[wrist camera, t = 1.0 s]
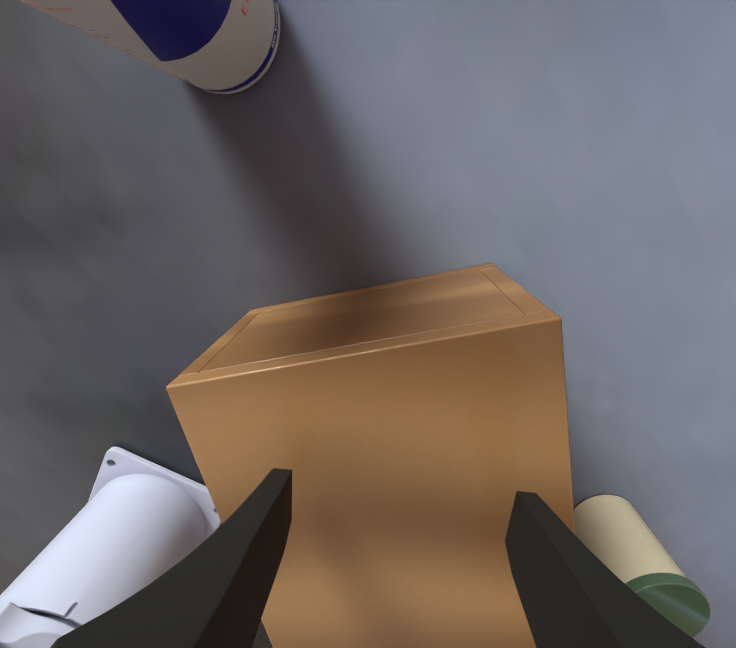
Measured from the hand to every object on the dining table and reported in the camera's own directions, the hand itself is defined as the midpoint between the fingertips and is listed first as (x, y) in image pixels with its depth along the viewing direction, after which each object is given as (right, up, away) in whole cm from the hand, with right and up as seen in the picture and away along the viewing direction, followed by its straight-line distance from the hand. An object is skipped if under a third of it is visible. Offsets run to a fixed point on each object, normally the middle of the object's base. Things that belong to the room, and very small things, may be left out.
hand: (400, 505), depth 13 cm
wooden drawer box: (0, +1, +10) cm, 10 cm away
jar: (+13, -6, +12) cm, 19 cm away
